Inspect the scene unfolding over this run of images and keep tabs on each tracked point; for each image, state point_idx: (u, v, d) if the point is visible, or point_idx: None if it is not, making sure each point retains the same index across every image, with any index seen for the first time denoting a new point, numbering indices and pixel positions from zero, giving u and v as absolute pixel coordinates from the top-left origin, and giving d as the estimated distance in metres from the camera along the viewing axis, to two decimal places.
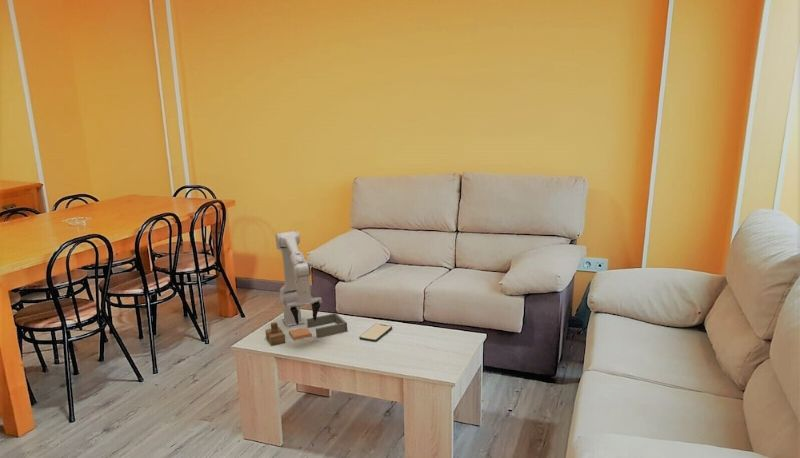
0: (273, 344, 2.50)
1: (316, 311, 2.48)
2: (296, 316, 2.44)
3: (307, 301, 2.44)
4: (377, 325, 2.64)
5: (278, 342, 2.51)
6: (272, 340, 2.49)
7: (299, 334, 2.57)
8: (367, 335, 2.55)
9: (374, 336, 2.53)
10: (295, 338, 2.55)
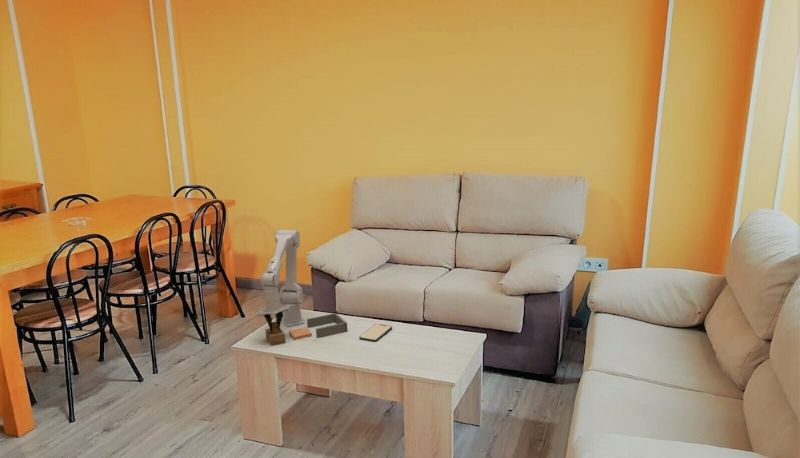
0: (273, 343, 2.50)
1: (279, 320, 2.52)
2: (270, 323, 2.51)
3: (275, 310, 2.50)
4: (376, 326, 2.64)
5: (278, 341, 2.51)
6: (272, 339, 2.49)
7: (299, 334, 2.57)
8: (367, 335, 2.55)
9: (374, 336, 2.53)
10: (295, 338, 2.55)
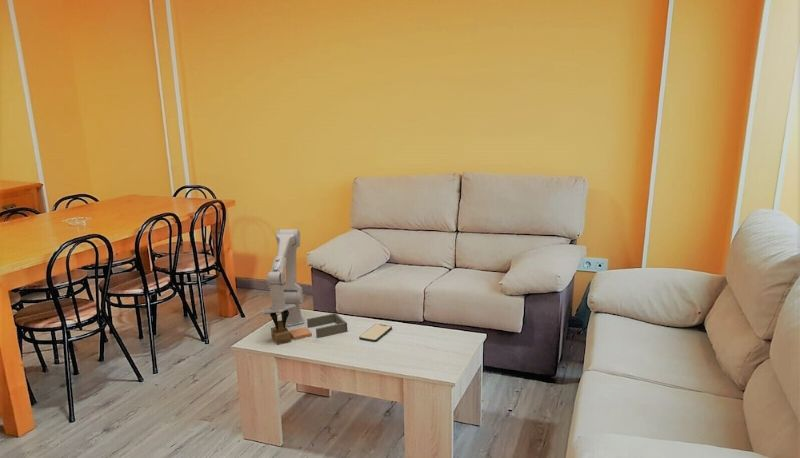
0: (279, 342, 2.51)
1: (285, 319, 2.53)
2: (276, 321, 2.52)
3: (281, 308, 2.51)
4: (376, 326, 2.64)
5: (283, 340, 2.52)
6: (278, 338, 2.50)
7: (299, 334, 2.57)
8: (366, 335, 2.55)
9: (374, 336, 2.53)
10: (295, 338, 2.55)
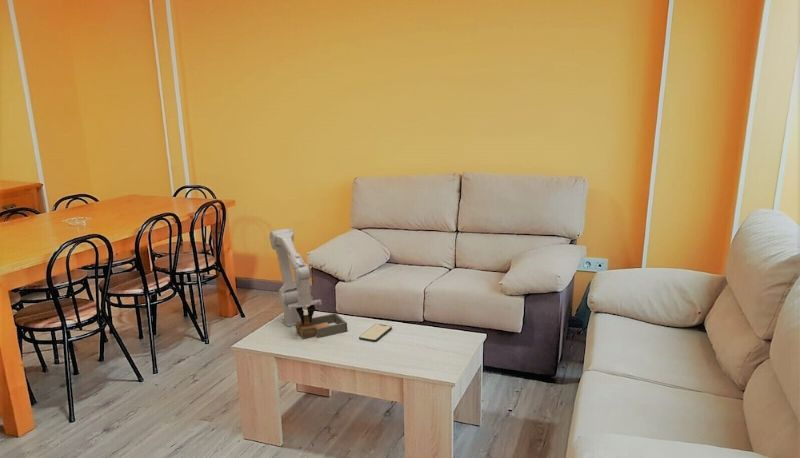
0: (304, 336, 2.55)
1: (311, 313, 2.58)
2: (302, 316, 2.57)
3: (307, 303, 2.56)
4: (376, 326, 2.64)
5: (309, 334, 2.56)
6: (303, 332, 2.55)
7: None
8: (366, 335, 2.55)
9: (373, 336, 2.53)
10: None
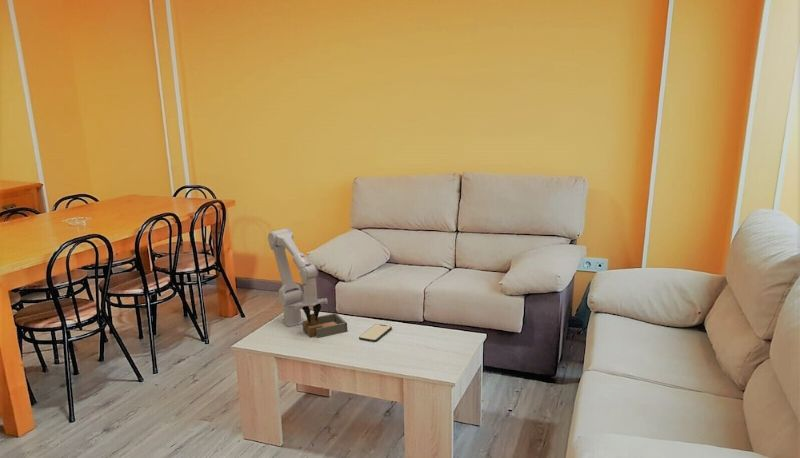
0: (311, 335, 2.57)
1: (317, 312, 2.60)
2: (308, 315, 2.58)
3: (314, 302, 2.57)
4: (376, 326, 2.64)
5: None
6: (310, 331, 2.56)
7: None
8: (366, 335, 2.55)
9: (373, 336, 2.53)
10: None
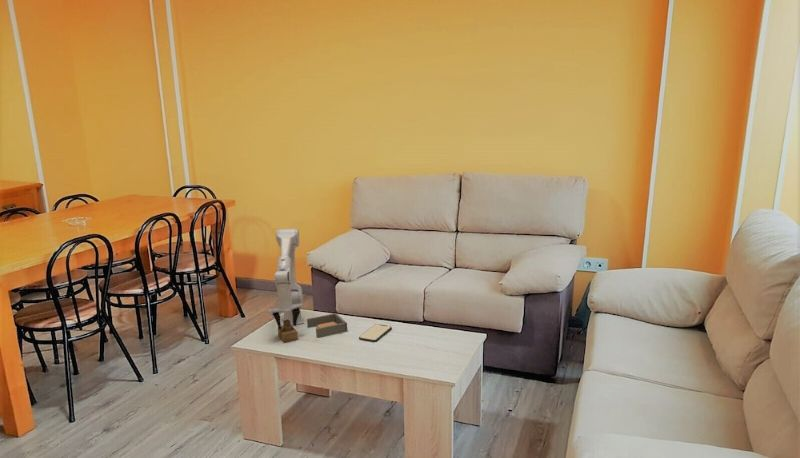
0: (286, 341, 2.52)
1: (296, 317, 2.55)
2: (278, 321, 2.52)
3: (288, 307, 2.52)
4: (376, 326, 2.63)
5: (290, 339, 2.53)
6: (285, 337, 2.52)
7: None
8: (366, 335, 2.55)
9: (373, 336, 2.53)
10: None
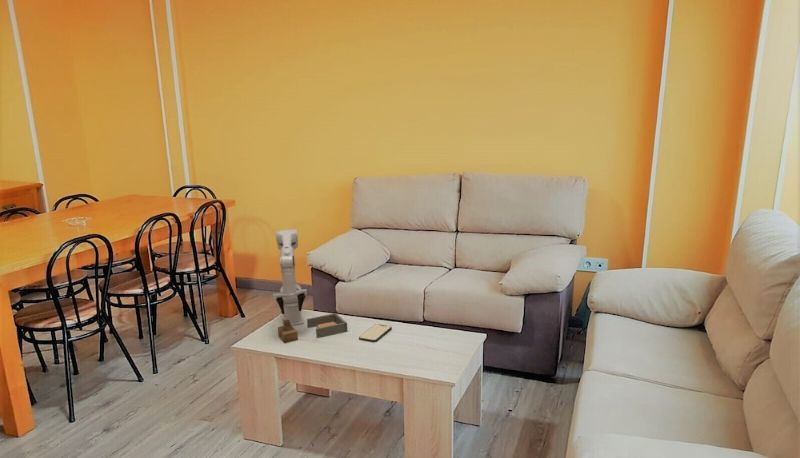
0: (286, 341, 2.52)
1: (301, 302, 2.58)
2: (282, 306, 2.55)
3: (292, 292, 2.55)
4: (376, 326, 2.63)
5: (290, 339, 2.53)
6: (285, 337, 2.52)
7: None
8: (366, 335, 2.54)
9: (373, 336, 2.53)
10: None
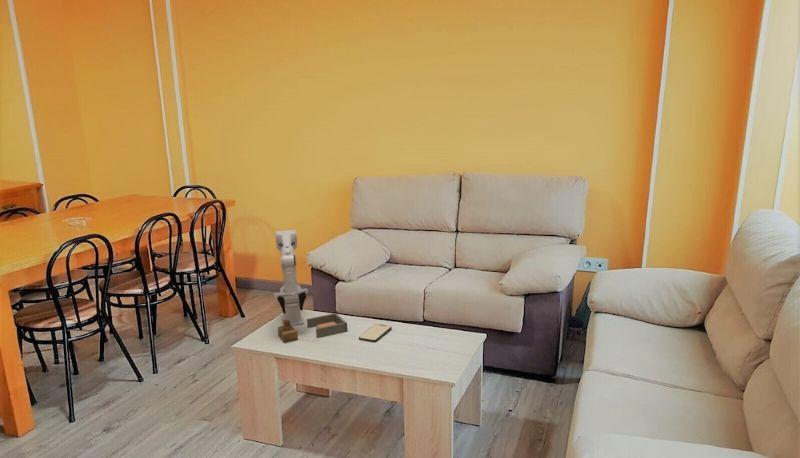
0: (286, 341, 2.52)
1: (302, 301, 2.59)
2: (283, 306, 2.55)
3: (293, 291, 2.55)
4: (376, 326, 2.63)
5: (290, 339, 2.53)
6: (285, 337, 2.52)
7: None
8: (366, 335, 2.54)
9: (373, 336, 2.53)
10: None
